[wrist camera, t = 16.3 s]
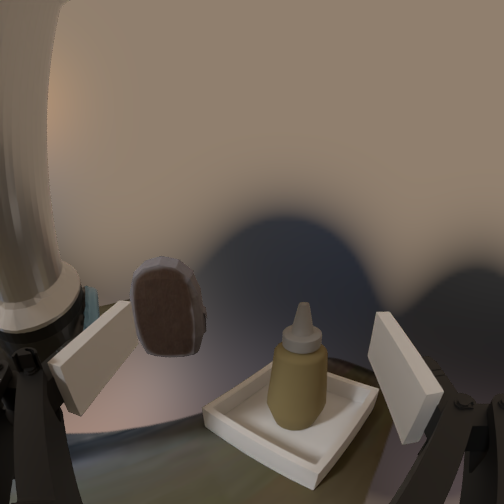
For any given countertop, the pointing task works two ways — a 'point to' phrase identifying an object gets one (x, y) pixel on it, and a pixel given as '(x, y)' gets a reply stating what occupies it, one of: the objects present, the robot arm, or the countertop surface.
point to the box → (286, 441)
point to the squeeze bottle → (298, 374)
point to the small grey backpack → (167, 308)
